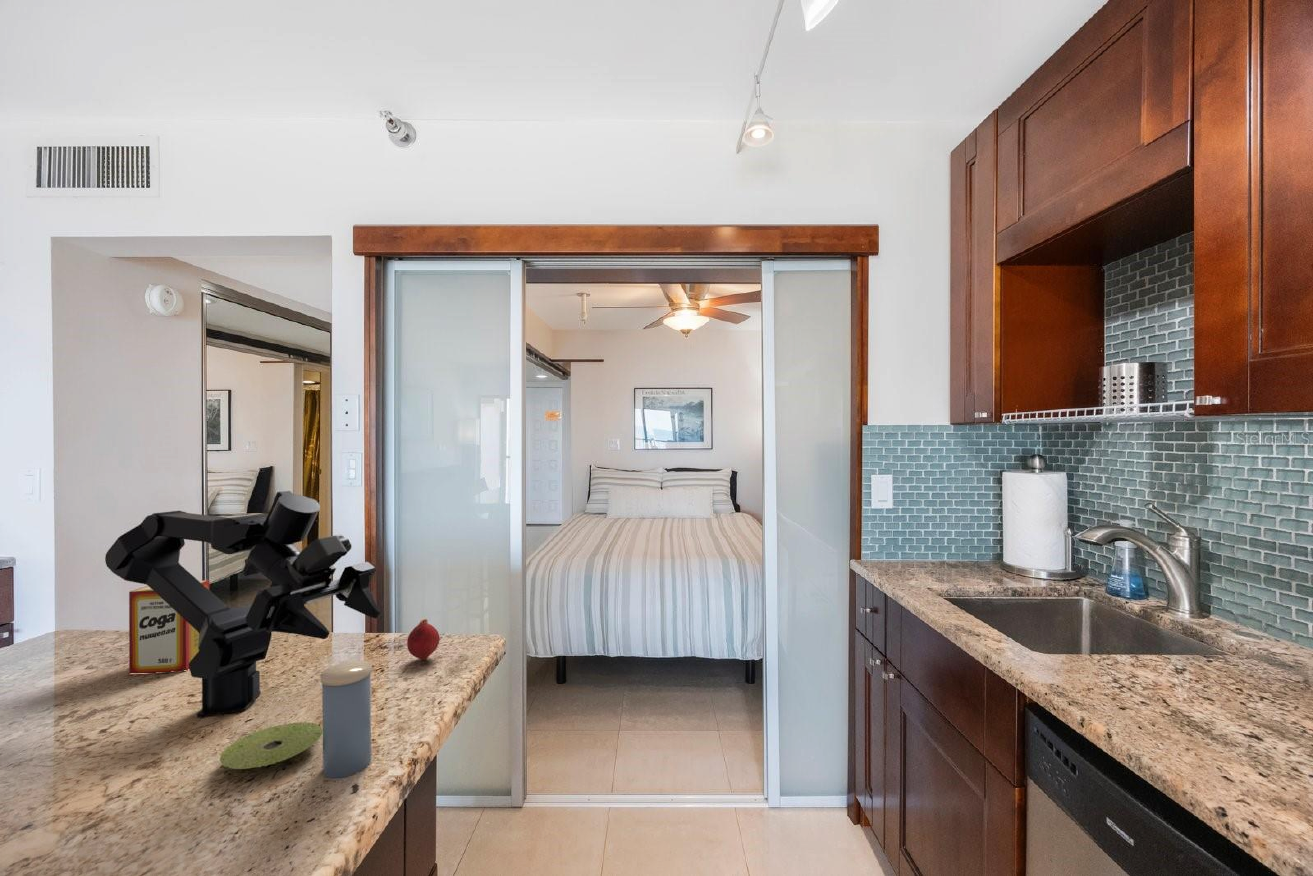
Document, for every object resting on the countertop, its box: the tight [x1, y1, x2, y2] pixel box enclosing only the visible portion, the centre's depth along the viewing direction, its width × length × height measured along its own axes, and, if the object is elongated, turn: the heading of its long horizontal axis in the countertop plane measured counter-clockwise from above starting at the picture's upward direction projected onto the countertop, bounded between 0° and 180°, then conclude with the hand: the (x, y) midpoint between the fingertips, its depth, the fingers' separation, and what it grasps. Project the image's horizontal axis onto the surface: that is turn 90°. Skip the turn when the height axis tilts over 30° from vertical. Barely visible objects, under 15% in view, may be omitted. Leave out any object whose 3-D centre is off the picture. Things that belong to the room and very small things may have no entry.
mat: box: [219, 721, 323, 770], centre depth 72 cm, size 11×11×2 cm
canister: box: [320, 660, 373, 779], centre depth 70 cm, size 6×6×12 cm
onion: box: [406, 618, 441, 661], centre depth 104 cm, size 6×6×8 cm
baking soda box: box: [128, 579, 210, 674], centre depth 103 cm, size 10×6×16 cm
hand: (354, 625), depth 80 cm, fingers open, 9 cm apart
